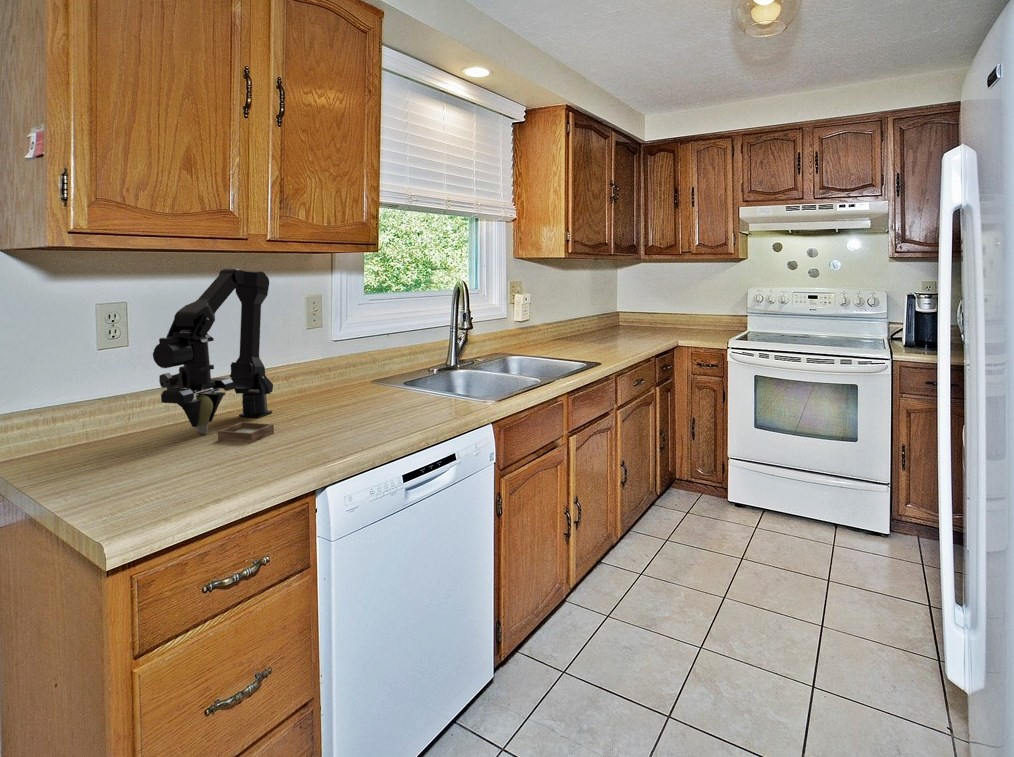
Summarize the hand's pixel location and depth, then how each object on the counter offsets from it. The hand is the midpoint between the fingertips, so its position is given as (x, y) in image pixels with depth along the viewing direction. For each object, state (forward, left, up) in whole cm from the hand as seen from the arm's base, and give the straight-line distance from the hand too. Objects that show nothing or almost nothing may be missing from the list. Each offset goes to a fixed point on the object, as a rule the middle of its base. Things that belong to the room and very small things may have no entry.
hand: (202, 424), depth 156 cm
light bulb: (0, 0, -3) cm, 3 cm away
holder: (-1, +12, -2) cm, 12 cm away
